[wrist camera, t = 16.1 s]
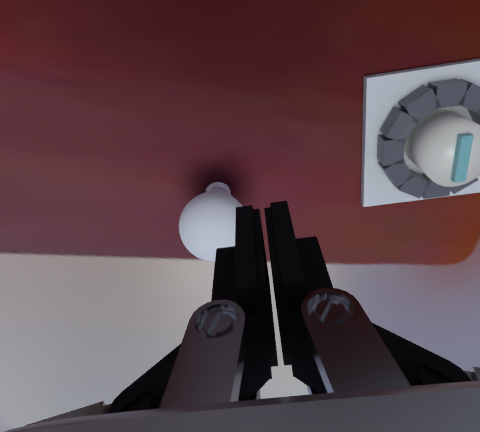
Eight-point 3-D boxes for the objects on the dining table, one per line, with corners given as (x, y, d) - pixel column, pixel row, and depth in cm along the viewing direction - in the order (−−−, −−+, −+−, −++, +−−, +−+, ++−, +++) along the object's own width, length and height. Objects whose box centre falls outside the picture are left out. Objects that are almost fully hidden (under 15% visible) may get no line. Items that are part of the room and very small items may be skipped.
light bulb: (252, 167, 40) (256, 219, 31) (242, 218, 43) (243, 280, 34) (191, 158, 40) (176, 208, 30) (186, 211, 43) (171, 271, 33)
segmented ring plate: (363, 76, 35) (373, 82, 33) (515, 52, 34) (538, 57, 32) (360, 202, 42) (368, 216, 40) (486, 186, 41) (503, 199, 39)
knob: (406, 113, 36) (433, 131, 31) (469, 104, 36) (506, 121, 31) (401, 169, 39) (425, 194, 34) (460, 162, 39) (491, 185, 34)
